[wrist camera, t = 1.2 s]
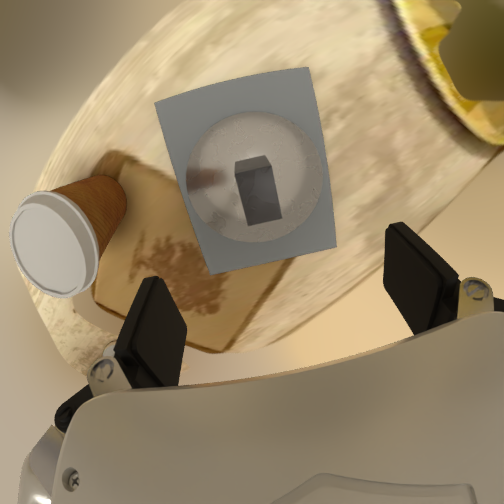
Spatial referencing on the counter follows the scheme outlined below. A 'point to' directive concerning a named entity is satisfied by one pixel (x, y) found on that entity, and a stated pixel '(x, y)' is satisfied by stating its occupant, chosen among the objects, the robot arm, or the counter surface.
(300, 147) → the lid
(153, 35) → the counter surface
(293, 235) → the mat
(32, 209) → the disposable coffee cup
